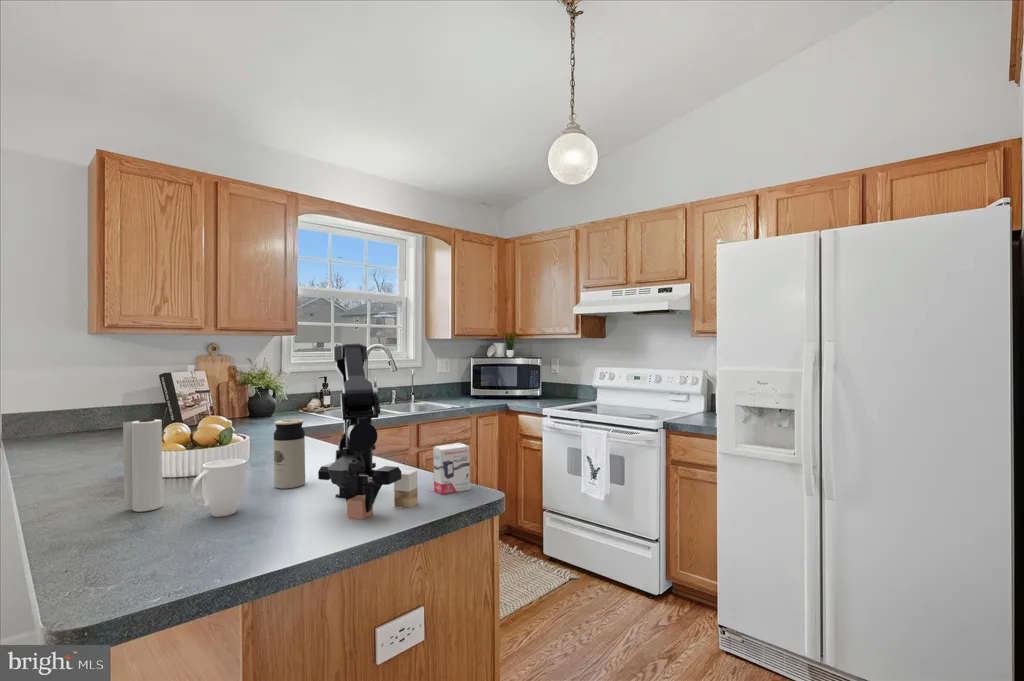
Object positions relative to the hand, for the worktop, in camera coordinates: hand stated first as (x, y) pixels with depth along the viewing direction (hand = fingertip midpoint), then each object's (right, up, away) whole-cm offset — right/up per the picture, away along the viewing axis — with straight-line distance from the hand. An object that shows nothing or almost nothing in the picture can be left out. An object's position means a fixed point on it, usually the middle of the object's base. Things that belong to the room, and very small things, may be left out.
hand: (360, 511), depth 121 cm
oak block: (+9, -1, +7) cm, 12 cm away
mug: (-33, -2, +2) cm, 33 cm away
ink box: (+19, -1, +20) cm, 27 cm away
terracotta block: (0, -1, 0) cm, 1 cm away
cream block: (+9, +3, +8) cm, 12 cm away
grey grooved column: (-54, -2, +8) cm, 55 cm away
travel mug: (-27, -2, +28) cm, 39 cm away
